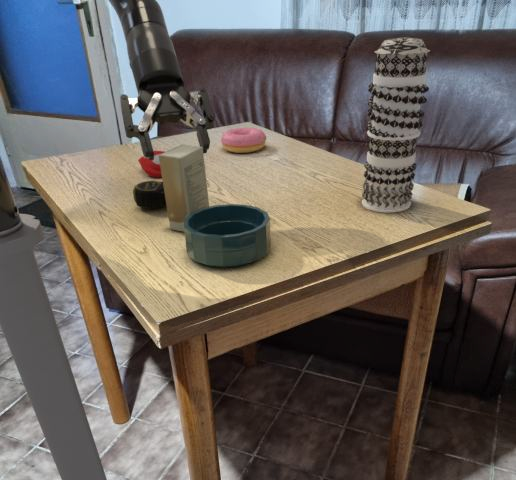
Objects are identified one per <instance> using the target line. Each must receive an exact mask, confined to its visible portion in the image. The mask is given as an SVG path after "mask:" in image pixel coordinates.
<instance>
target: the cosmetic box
mask: <svg viewBox="0 0 516 480" xmlns="http://www.w3.org/2000/svg"><path fill="white" fill-rule="evenodd" d="M204 155H205V154H203V147H200V146H198V145H197V146H196V145H189V144H179V145H178V146H175V147H173V148H171V149H169V150H166V151H164V153H162V154H160V155H159V161H160V167H161V174H162V177H161V180H162V182H163V186H164V192H165V199H166V205H167V206H166V211H167V217H168V222H169V229H170V230H173V231H179V232H183V233H185V232H184V221H183V220H184V219H185V218H186V217H187V216H188V215H189V214H191V213H193V212H195V211H197V210H199V209H202V208H206V207H210V202H209V201H210V200H209V191H208V183H207V174H206V173H207V172H206V164H205V157H204Z"/></svg>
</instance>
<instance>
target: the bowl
mask: <svg viewBox="0 0 516 480" xmlns="http://www.w3.org/2000/svg"><path fill="white" fill-rule="evenodd" d="M183 221H184V232H183V233H184V239H185V247H186V253H187V256H188V257H189V258H190V259H192V260H193V261H194V262H197V263H200V264H203V265H205V266H210V267H215V268H233V267H241V266H246V265H248V264H252V263H254V262H255V261H258V260H260V259H262V258H263V257H264V256H266V255H267V254H268V253H269V251H270V249H271V247H272V238H271V236H272V235H271V218H270V215H269V213H268V212H267V211H265V210H264V209H262V208H260V207H258V206H253V205H248V204H240V203H226V204H215V205H212V206H211V205H210V206H209V207H206V208H202V209H199V210H197V211H195V212H193V213H191V214H189V215H188V216H187V217H186V218H185V219H184V220H183Z"/></svg>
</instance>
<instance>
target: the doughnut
mask: <svg viewBox="0 0 516 480" xmlns="http://www.w3.org/2000/svg"><path fill="white" fill-rule="evenodd" d="M266 141H267V136H266V133H265V132H264V131H263V130H262V129H261V128H255V127H237V128H236V127H235V128H231V129H227V130H226V131H225V132H224V133H223V134H222V135H221V137H220V142H221V146H222V148H223V149H224V150H225V151H228V152H230V153H236V154H246V153H253V152H257V151H260V150H261V149H263V148H264V147H265V145H266V143H267V142H266Z"/></svg>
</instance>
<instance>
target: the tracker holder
mask: <svg viewBox="0 0 516 480" xmlns="http://www.w3.org/2000/svg"><path fill="white" fill-rule="evenodd" d="M153 152H154V160H150V161H149V158H148V157H145V156H144V155H142V156H141V157H139V158H138V162H139V164H140V167H141V169H142V170H143V172H145V174H147V175H148V176H150V177H154V178H162V174H161V167H160V161H159V155H160V154H162V153H164V152H165V151H162V150H153Z"/></svg>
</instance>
